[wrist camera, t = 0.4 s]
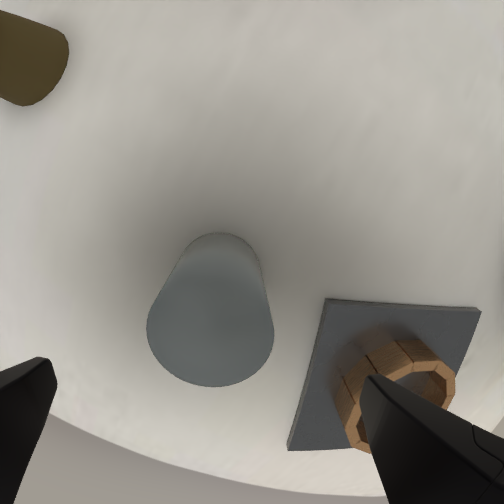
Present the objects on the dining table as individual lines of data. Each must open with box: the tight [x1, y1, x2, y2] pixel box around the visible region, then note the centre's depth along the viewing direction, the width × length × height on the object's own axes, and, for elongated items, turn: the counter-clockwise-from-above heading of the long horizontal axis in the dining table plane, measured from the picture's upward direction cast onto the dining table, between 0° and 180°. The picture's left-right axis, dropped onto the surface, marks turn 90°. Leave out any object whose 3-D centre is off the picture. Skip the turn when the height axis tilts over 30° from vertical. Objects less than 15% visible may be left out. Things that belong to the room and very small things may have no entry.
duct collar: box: [287, 299, 482, 454], centre depth 21 cm, size 14×14×4 cm
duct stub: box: [146, 233, 274, 387], centre depth 16 cm, size 5×5×8 cm
